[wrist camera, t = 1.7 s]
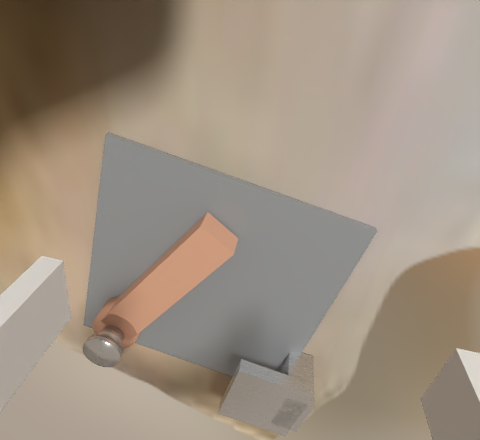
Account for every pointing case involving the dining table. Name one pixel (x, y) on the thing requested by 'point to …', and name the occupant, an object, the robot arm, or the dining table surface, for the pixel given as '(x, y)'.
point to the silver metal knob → (105, 346)
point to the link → (168, 278)
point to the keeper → (271, 394)
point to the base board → (230, 272)
